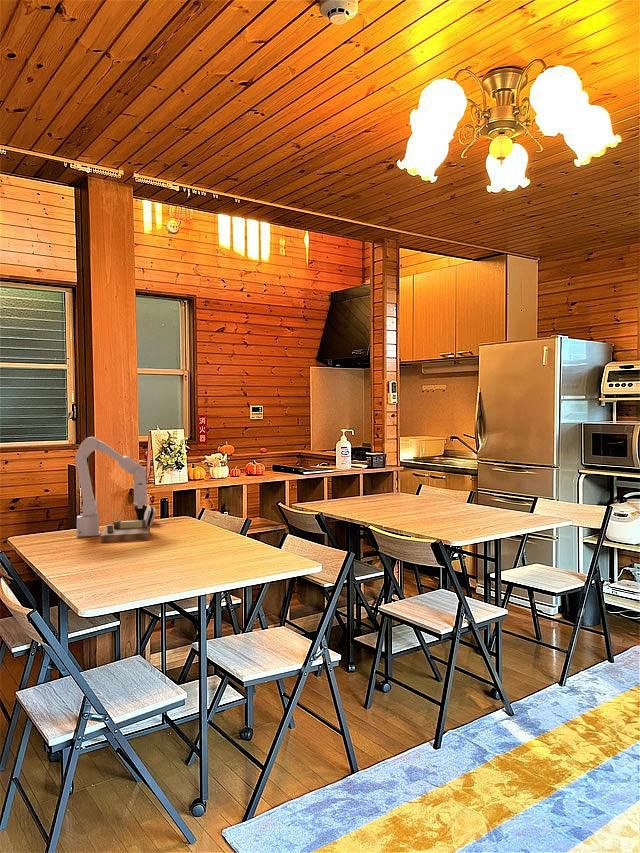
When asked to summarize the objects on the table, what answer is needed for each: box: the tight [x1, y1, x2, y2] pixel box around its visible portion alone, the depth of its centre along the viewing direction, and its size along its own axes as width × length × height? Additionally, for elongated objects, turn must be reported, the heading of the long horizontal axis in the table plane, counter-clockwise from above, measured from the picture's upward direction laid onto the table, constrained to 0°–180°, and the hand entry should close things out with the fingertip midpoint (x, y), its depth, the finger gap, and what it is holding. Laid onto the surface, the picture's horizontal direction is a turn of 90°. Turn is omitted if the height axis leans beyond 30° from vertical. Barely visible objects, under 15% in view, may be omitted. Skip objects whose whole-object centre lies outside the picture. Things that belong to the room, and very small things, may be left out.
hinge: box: [144, 504, 157, 526], centre depth 324 cm, size 17×5×10 cm, turn 22°
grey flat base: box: [99, 523, 151, 543], centre depth 290 cm, size 20×18×6 cm
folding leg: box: [113, 519, 147, 529], centre depth 296 cm, size 14×3×3 cm, turn 103°
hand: (140, 522), depth 303 cm, fingers closed
